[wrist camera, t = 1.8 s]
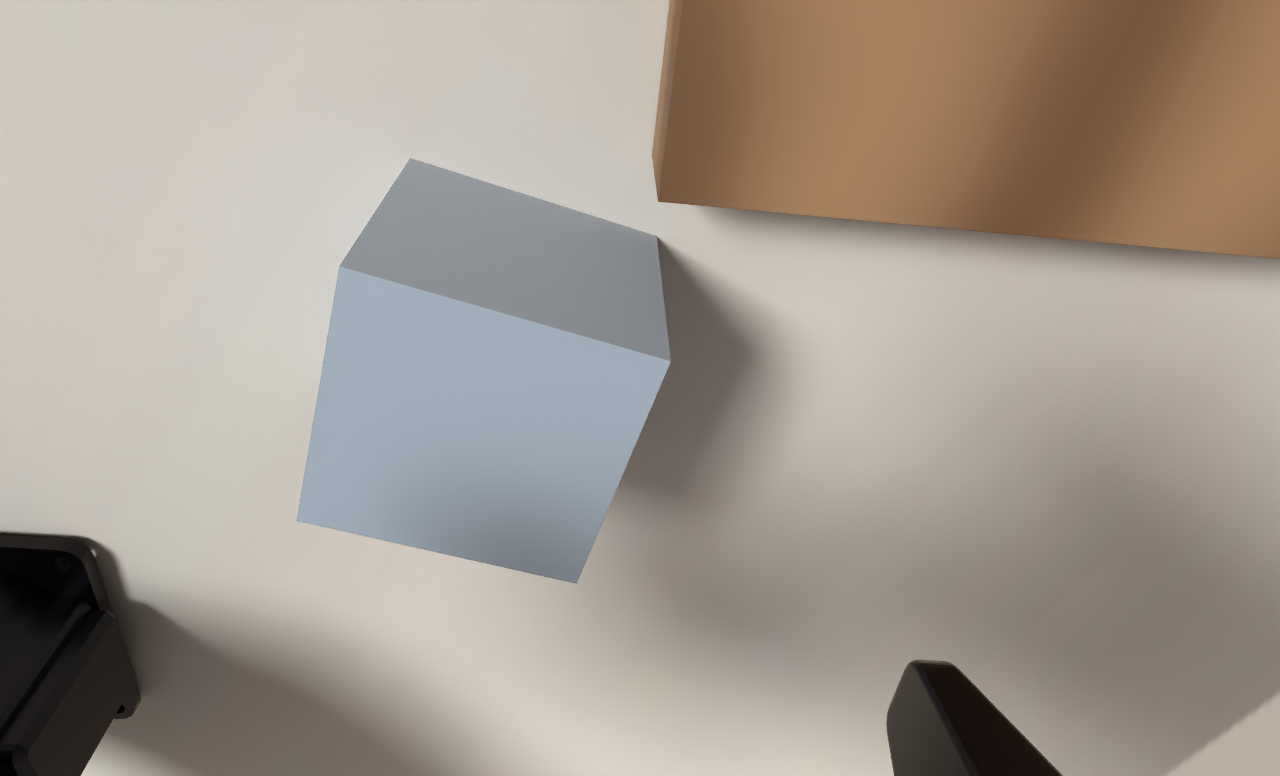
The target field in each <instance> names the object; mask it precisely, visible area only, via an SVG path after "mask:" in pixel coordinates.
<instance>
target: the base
mask: <svg viewBox="0 0 1280 776" xmlns="http://www.w3.org/2000/svg"><path fill="white" fill-rule="evenodd" d="M652 158H653V166H654V173H655V181H656V189H657V196H658V202H668V203H679V204H690V205H700V206H711V207H722V208H733V209H744V210H755V211H766V212H777V213H787V214H798V215H809V216H820V217H831V218H842V219H853V220H864V221H874V222H885V223H896V224H907V225H918V226H929V227H940V228H951V229H961V230H972V231H983V232H994V233H1005V234H1016V235H1027V236H1038V237H1048V238H1059V239H1070V240H1081V241H1092V242H1103V243H1114V244H1125V245H1135V246H1146V247H1157V248H1168V249H1179V250H1190V251H1201V252H1212V253H1222V254H1233V255H1244V256H1255V257H1266V258H1277V259H1280V0H670V4H669V13H668V21H667V30H666V39H665V48H664V56H663V65H662V74H661V83H660V91H659V100H658V109H657V118H656V126H655V135H654V144H653V153H652Z"/></svg>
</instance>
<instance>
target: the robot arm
mask: <svg viewBox="0 0 1280 776" xmlns="http://www.w3.org/2000/svg"><path fill="white" fill-rule="evenodd" d="M140 701H141V696H140V693H139V690H138V687H137V684H136V681H135V675H134V672H133V669H132V666H131V663H130V660H129V657H128V654H127V651H126V648H125V645H124V642H123V639H122V636H121V633H120V630H119V627H118V624H117V621H116V619H115V617H114V615H113V612H112V609H111V606H110V603H109V600H108V597H107V594H106V591H105V588H104V585H103V582H102V579H101V576H100V573H99V570H98V567H97V564H96V561H95V558H94V555H93V553H92V552H91V550H90V549H89V548H88V547H87V546H86V545H84V544H83V543H81V542H78V541H76V540H72V539H65V538H47V537H29V536H12V535H0V776H81V774H82V772H83V770H84V769H85V767H86V765H87V763H88V762H89V760H90V758H91V756H92V755H93V753H94V751H95V749H96V748H97V746H98V744H99V743H100V741H101V739H102V737H103V736H104V734H105V732H106V730H107V729H108V727H109V725H110V723H111V722H112V720H113V719H123V718H128V717H130V716H132V714H133V713H134V712H135V710H136V708H137V706H138V704H139V703H140ZM887 735H888V741H889V747H890V753H891V759H892V765H893V772H894V776H1062V774H1061V773H1060V772H1059V771H1058V770H1057V769H1056V768H1055V767H1054V766H1053V765H1052V764H1051V763H1050V762H1049V761H1048V760H1047V759H1046V758H1045V757H1044V756H1043V755H1042V754H1041V753H1040V752H1039V751H1038V750H1037V749H1036V748H1035V747H1034V746H1033V745H1032V744H1031V743H1030V742H1029V741H1028V740H1027V739H1026V738H1025V736H1024V735H1023V734H1022V733H1021V732H1020V731H1019V730H1018V729H1017V728H1016V727H1015V726H1014V725H1013V724H1012V723H1011V722H1010V721H1009V720H1008V719H1007V718H1006V717H1005V716H1004V715H1003V714H1002V713H1001V712H1000V711H999V710H998V709H997V708H996V707H995V706H994V705H993V704H992V703H991V702H990V701H989V700H988V699H987V697H986V696H985V695H984V694H983V693H982V692H981V691H980V690H979V689H978V688H977V687H976V686H975V685H974V684H973V683H972V682H971V681H970V680H969V679H968V678H967V677H966V676H965V675H964V674H963V673H962V672H961V671H960V670H959V669H958V668H957V667H956V666H954V665H953V664H951V663H949V662H945V661H932V660H913V661H912V662H910V663H909V664H908V665H907V667H906V668H905V670H904V673H903V675H902V678H901V680H900V682H899V685H898V687H897V690H896V692H895V694H894V697H893V699H892V701H891V704H890V706H889V709H888V714H887Z"/></svg>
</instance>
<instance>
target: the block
mask: <svg viewBox="0 0 1280 776" xmlns="http://www.w3.org/2000/svg"><path fill="white" fill-rule="evenodd" d="M670 362H671V357H670V348H669V339H668V331H667V322H666V313H665V304H664V295H663V286H662V278H661V269H660V260H659V251H658V242H657V236H654V235H651V234H648V233H645V232H642V231H638V230H635V229H632V228H629V227H626V226H623V225H620V224H616V223H613V222H610V221H607V220H604V219H601V218H597V217H594V216H591V215H588V214H585V213H582V212H578V211H575V210H572V209H569V208H566V207H563V206H560V205H556V204H553V203H550V202H547V201H544V200H541V199H537V198H534V197H531V196H528V195H525V194H522V193H519V192H515V191H512V190H509V189H506V188H503V187H500V186H496V185H493V184H490V183H487V182H484V181H481V180H477V179H474V178H471V177H468V176H465V175H462V174H459V173H455V172H452V171H449V170H446V169H443V168H440V167H436V166H433V165H430V164H427V163H424V162H421V161H417V160H414V159H411V158H410V160H409V161H408V163H407V164H406V166H405V167H404V169H403V170H402V172H401V173H400V175H399V176H398V178H397V179H396V181H395V182H394V184H393V185H392V187H391V189H390V190H389V192H388V193H387V195H386V196H385V198H384V199H383V201H382V202H381V204H380V205H379V207H378V208H377V210H376V211H375V213H374V214H373V216H372V218H371V219H370V221H369V222H368V224H367V225H366V227H365V228H364V230H363V231H362V233H361V234H360V236H359V237H358V239H357V240H356V242H355V243H354V245H353V247H352V248H351V250H350V251H349V253H348V254H347V256H346V257H345V259H344V260H343V262H342V263H341V265H340V266H339V272H338V278H337V284H336V290H335V296H334V302H333V308H332V314H331V320H330V326H329V332H328V337H327V343H326V349H325V355H324V361H323V367H322V373H321V379H320V385H319V391H318V397H317V403H316V409H315V415H314V421H313V427H312V433H311V438H310V444H309V450H308V456H307V462H306V468H305V474H304V480H303V486H302V492H301V498H300V504H299V510H298V516H297V521H300V522H304V523H309V524H313V525H318V526H322V527H327V528H331V529H336V530H340V531H344V532H349V533H353V534H358V535H362V536H367V537H371V538H376V539H380V540H385V541H389V542H393V543H398V544H402V545H407V546H411V547H416V548H420V549H425V550H429V551H434V552H438V553H442V554H447V555H451V556H456V557H460V558H465V559H469V560H474V561H478V562H483V563H487V564H491V565H496V566H500V567H505V568H509V569H514V570H518V571H523V572H527V573H532V574H536V575H540V576H545V577H549V578H554V579H558V580H563V581H567V582H572V583H577V581H578V579H579V576H580V574H581V572H582V569H583V567H584V565H585V562H586V560H587V558H588V555H589V553H590V551H591V548H592V546H593V544H594V541H595V539H596V536H597V534H598V532H599V529H600V527H601V525H602V522H603V520H604V518H605V515H606V513H607V511H608V508H609V506H610V504H611V501H612V499H613V496H614V494H615V492H616V489H617V487H618V485H619V482H620V480H621V478H622V475H623V473H624V471H625V468H626V466H627V464H628V461H629V459H630V456H631V454H632V452H633V449H634V447H635V445H636V442H637V440H638V438H639V435H640V433H641V431H642V428H643V426H644V424H645V421H646V419H647V417H648V414H649V412H650V409H651V407H652V405H653V402H654V400H655V398H656V395H657V393H658V391H659V388H660V386H661V384H662V381H663V379H664V377H665V374H666V372H667V369H668V367H669V365H670Z"/></svg>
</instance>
